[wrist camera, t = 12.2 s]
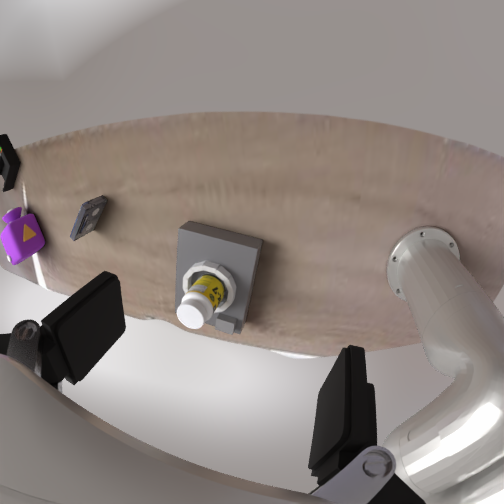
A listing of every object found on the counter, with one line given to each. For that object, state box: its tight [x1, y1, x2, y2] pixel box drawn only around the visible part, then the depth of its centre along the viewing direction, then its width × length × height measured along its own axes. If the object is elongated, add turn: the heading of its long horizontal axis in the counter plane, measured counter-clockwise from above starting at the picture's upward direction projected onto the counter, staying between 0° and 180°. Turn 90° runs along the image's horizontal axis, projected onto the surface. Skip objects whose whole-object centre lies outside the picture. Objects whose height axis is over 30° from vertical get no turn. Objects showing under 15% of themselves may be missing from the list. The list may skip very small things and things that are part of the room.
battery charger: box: [0, 134, 20, 192], centre depth 48 cm, size 13×10×4 cm
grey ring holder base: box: [175, 221, 263, 335], centre depth 44 cm, size 12×16×5 cm
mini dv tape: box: [70, 195, 107, 241], centre depth 45 cm, size 8×2×6 cm, turn 138°
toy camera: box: [1, 207, 45, 265], centre depth 51 cm, size 11×14×10 cm
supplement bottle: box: [177, 273, 226, 329], centre depth 39 cm, size 5×5×8 cm
